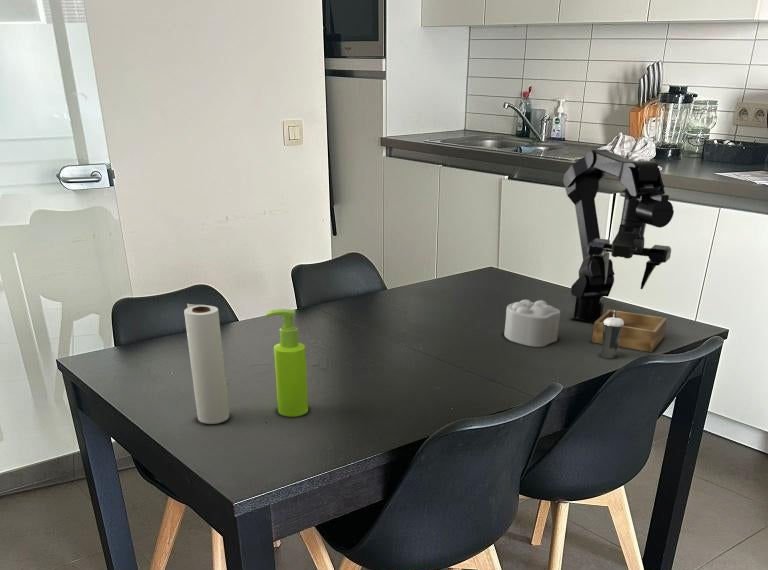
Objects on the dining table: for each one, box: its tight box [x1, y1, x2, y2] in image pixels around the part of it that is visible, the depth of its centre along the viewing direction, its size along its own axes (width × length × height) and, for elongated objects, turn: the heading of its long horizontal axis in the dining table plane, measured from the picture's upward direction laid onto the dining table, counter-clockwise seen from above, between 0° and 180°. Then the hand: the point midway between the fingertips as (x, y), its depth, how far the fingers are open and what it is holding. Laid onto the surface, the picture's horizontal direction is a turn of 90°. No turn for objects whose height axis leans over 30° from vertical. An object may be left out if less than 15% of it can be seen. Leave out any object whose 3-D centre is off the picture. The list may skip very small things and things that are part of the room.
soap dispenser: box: [265, 308, 309, 418], centre depth 147 cm, size 6×7×20 cm
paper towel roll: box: [183, 303, 230, 425], centre depth 144 cm, size 7×6×21 cm
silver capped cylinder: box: [601, 309, 624, 359], centre depth 179 cm, size 4×5×10 cm
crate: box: [591, 309, 668, 353], centre depth 190 cm, size 15×13×5 cm
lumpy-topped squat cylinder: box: [503, 299, 561, 348], centre depth 190 cm, size 10×13×9 cm
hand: (622, 286), depth 189 cm, fingers open, 9 cm apart
